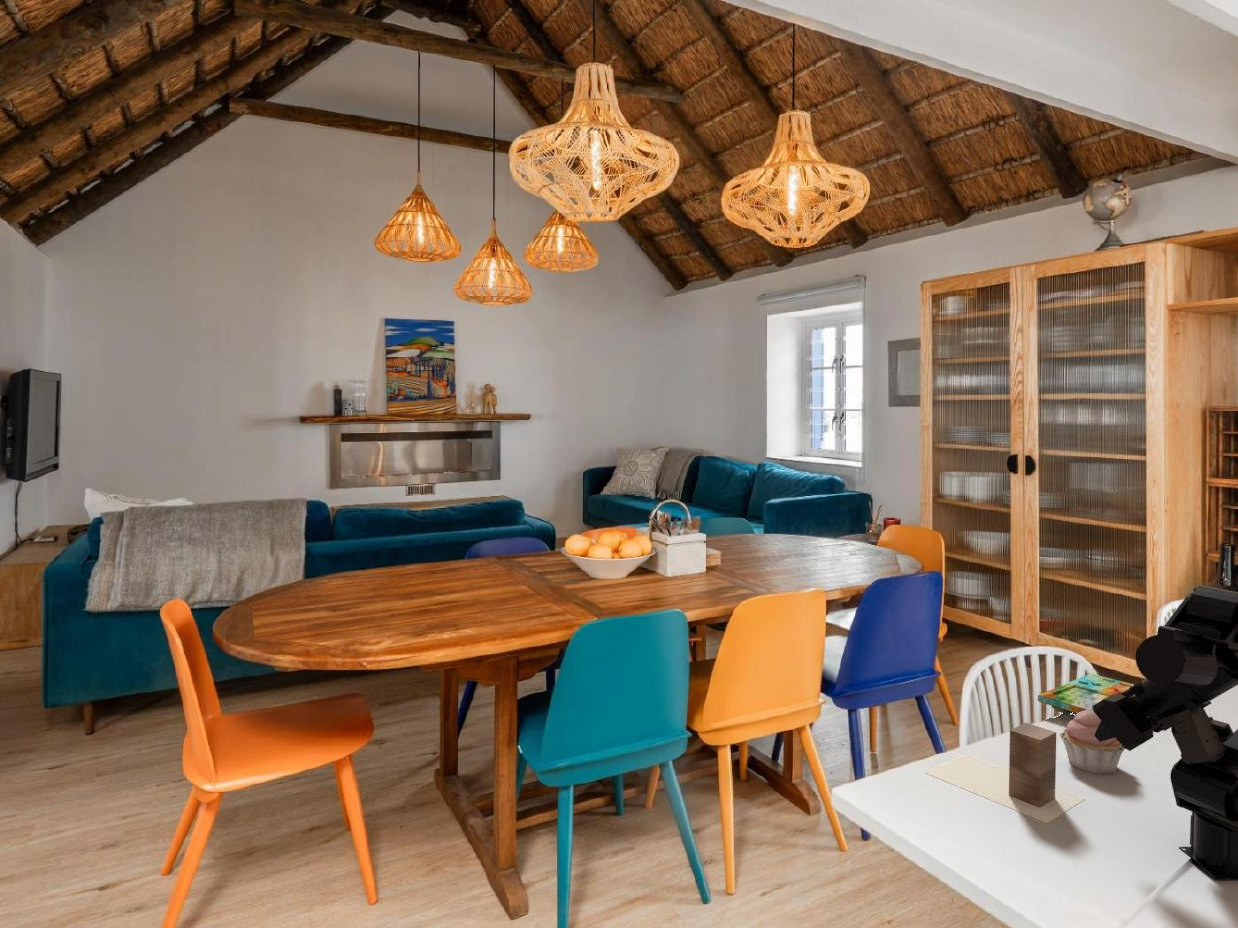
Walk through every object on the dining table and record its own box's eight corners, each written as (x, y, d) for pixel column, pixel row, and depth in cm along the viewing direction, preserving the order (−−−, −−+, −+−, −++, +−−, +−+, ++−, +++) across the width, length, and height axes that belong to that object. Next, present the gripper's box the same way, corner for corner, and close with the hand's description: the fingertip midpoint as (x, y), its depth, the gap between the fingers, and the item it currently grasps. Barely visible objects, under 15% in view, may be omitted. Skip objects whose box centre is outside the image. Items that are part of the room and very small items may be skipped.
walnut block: (1055, 798, 116) (1056, 732, 115) (1039, 807, 114) (1040, 740, 113) (1024, 786, 120) (1025, 722, 119) (1008, 795, 117) (1009, 730, 117)
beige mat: (1085, 802, 116) (1085, 798, 116) (1047, 827, 110) (1047, 822, 110) (963, 757, 131) (964, 753, 131) (924, 776, 125) (924, 772, 125)
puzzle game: (1157, 685, 150) (1103, 709, 139) (1156, 710, 150) (1103, 735, 139) (1092, 669, 160) (1038, 690, 149) (1091, 692, 160) (1037, 714, 149)
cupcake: (1125, 762, 128) (1126, 702, 128) (1127, 786, 120) (1129, 722, 120) (1059, 750, 133) (1060, 692, 132) (1057, 773, 125) (1059, 711, 124)
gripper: (1219, 759, 89) (1112, 815, 99) (1274, 719, 100) (1172, 773, 109) (1142, 673, 95) (1047, 734, 105) (1202, 644, 106) (1111, 702, 115)
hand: (1098, 737), depth 108 cm, fingers closed
